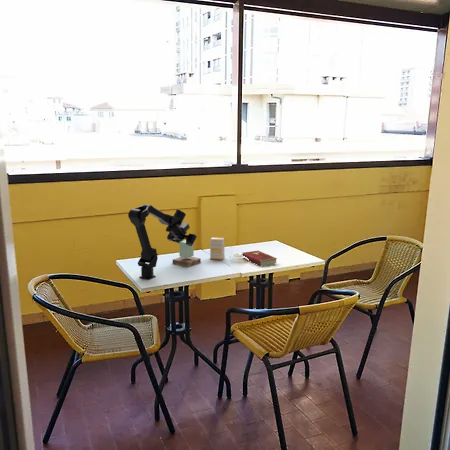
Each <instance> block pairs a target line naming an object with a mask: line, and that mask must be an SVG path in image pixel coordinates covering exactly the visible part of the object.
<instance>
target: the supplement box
mask: <svg viewBox="0 0 450 450" xmlns="http://www.w3.org/2000/svg"><path fill="white" fill-rule="evenodd" d="M209 248H210V251H209V254H210V260H220V261H223V260H224V259H225V257H226V256H225V238H224V237H213V236H212V237H211V238H209Z"/></svg>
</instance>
